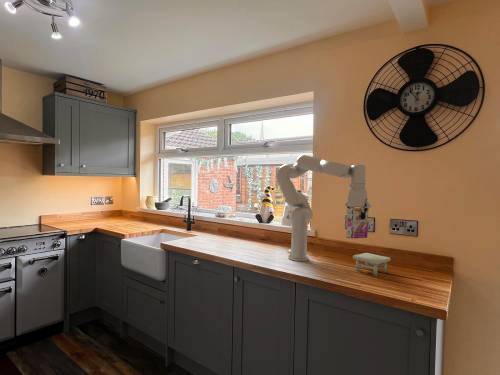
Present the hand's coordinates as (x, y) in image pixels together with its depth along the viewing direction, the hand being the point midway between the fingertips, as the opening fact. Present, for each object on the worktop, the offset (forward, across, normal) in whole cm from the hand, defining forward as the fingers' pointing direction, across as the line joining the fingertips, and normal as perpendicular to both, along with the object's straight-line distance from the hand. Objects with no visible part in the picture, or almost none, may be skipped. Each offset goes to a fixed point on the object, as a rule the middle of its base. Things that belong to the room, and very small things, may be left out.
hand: (357, 218), depth 166 cm
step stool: (+28, +7, +3) cm, 29 cm away
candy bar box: (+11, 0, 0) cm, 11 cm away
